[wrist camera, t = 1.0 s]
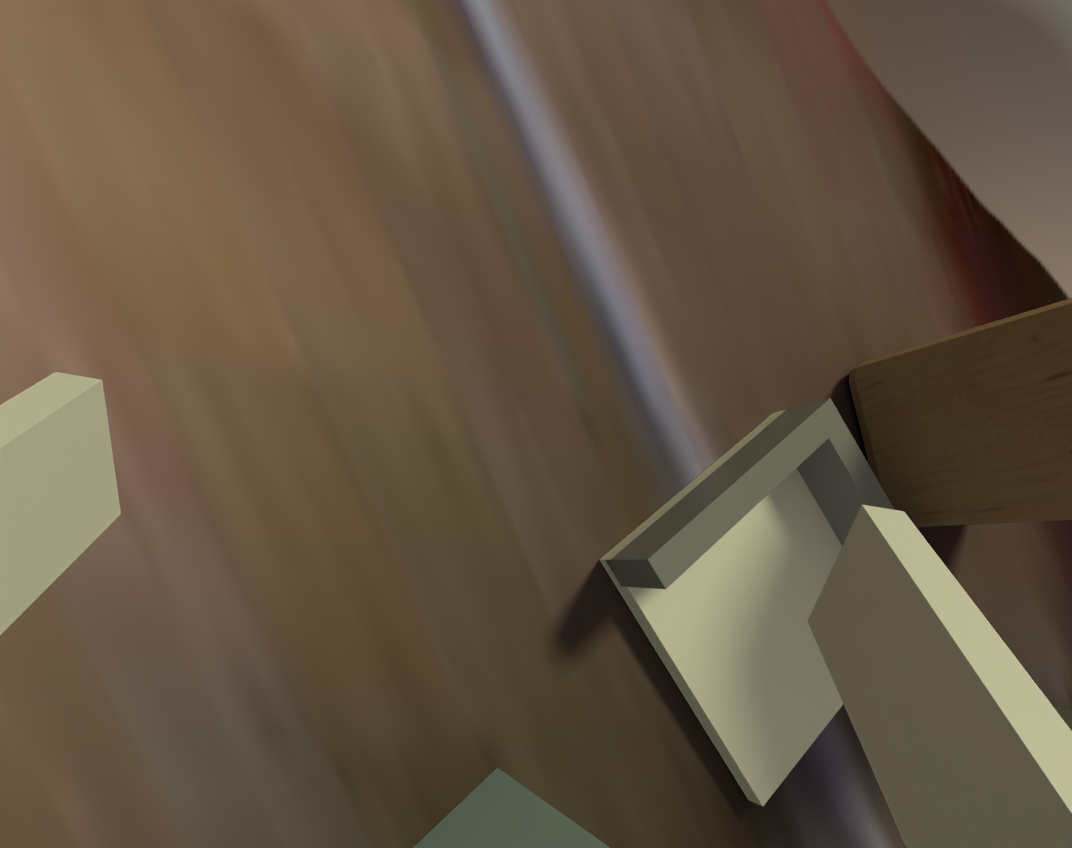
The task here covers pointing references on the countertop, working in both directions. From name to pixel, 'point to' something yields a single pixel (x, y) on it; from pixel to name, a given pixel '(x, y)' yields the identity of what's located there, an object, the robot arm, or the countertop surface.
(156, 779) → the countertop surface
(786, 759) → the corner jig
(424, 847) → the teal post
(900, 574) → the robot arm
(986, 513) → the wooden block
